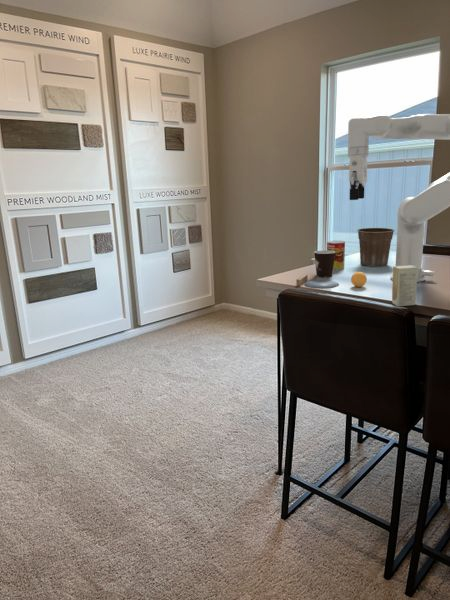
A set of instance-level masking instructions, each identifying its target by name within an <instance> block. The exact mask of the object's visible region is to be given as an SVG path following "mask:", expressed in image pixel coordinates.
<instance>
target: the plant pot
mask: <svg viewBox="0 0 450 600" xmlns="http://www.w3.org/2000/svg"><path fill="white" fill-rule="evenodd" d="M356 231H357V233H358V234H357V236H358V242H359V260H360V261H359V262H360V265H362V266H365V267H370V268H371V267H373V268H375V267H383V266H384V267H387V266H388V264H389V258H390V249H391V244H392V240H393V236H394V232H395V229H393V228H387V227H365V228H364V227H363V228H358V229H357V230H356Z"/></svg>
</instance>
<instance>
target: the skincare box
mask: <svg viewBox="0 0 450 600" xmlns="http://www.w3.org/2000/svg"><path fill="white" fill-rule="evenodd" d="M392 275H393V280H392V287H391V288H392V291H391V292H392V293H391V303H392V304H393V305H395V306H396V307H404V306H416V304H417V289H418V288H417V286H418V285H417V283H418V282H417V267H415V266H413V265H406V266H395V265H393V267H392Z"/></svg>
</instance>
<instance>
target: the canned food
mask: <svg viewBox="0 0 450 600" xmlns="http://www.w3.org/2000/svg"><path fill="white" fill-rule="evenodd" d="M326 251H335V258H334V265H333V269H340V270H344V269H345V259H346V258H345V257H346V255H345V253H346V252H345V251H346V240H345V241H344V240H329V241H326Z"/></svg>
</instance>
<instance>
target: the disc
mask: <svg viewBox="0 0 450 600" xmlns="http://www.w3.org/2000/svg"><path fill="white" fill-rule="evenodd" d="M304 286H305V287H307V288H311V289H312V288H313V289H331V288H337V287H339V286H340V283H339V282H337V281H332V280H324V279H323V280H321V279H320V280H310V281H306V282H305V283H304ZM336 286H337V287H336Z"/></svg>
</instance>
